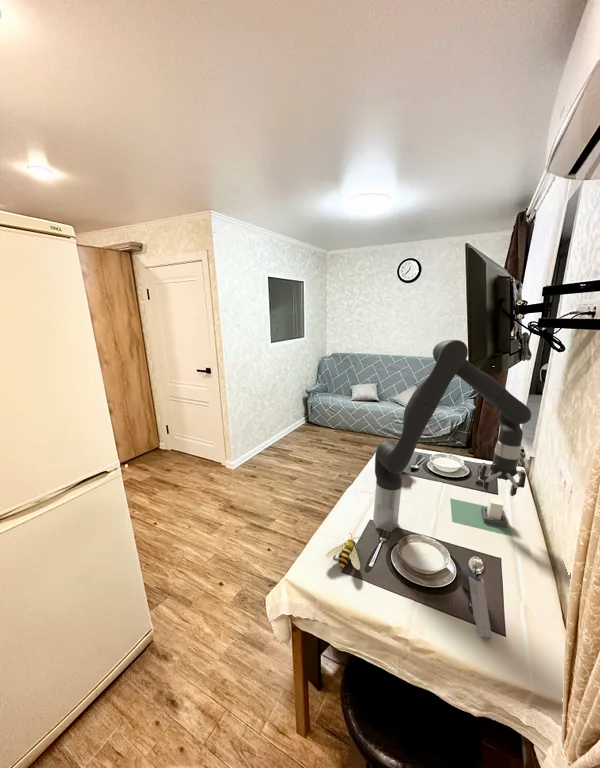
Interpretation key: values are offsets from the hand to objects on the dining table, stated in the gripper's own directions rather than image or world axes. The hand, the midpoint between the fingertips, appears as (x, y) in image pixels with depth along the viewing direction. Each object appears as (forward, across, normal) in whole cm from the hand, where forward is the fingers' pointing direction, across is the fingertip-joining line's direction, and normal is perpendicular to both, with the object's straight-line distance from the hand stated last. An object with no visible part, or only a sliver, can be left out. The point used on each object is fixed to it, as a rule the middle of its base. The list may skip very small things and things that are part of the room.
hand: (498, 492), depth 119 cm
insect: (+14, -48, -39) cm, 63 cm away
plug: (+12, 0, 0) cm, 12 cm away
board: (+13, -5, 0) cm, 14 cm away
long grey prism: (+14, -11, -43) cm, 47 cm away
